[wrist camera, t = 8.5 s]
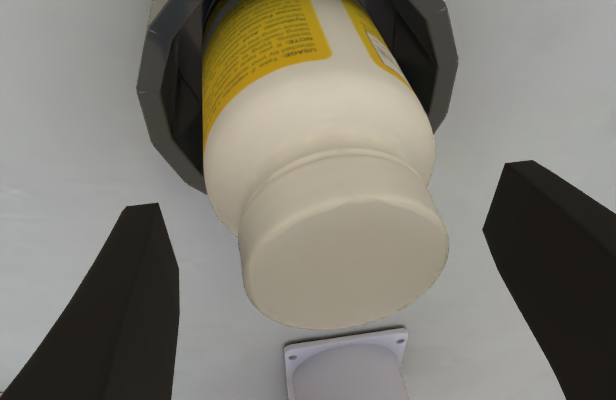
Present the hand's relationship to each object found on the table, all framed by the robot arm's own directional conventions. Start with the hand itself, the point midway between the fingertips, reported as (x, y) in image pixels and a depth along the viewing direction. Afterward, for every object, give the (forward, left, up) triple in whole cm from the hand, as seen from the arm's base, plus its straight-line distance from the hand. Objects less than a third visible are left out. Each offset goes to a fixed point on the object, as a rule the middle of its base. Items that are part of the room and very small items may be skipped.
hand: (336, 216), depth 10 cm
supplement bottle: (0, 0, -8) cm, 8 cm away
